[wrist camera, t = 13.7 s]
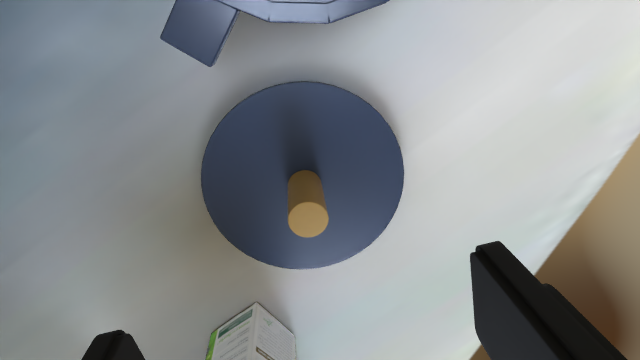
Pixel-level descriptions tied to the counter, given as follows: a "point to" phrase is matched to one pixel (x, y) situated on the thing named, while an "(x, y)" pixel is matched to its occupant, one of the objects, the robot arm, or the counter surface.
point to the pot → (264, 3)
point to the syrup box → (252, 338)
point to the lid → (302, 175)
